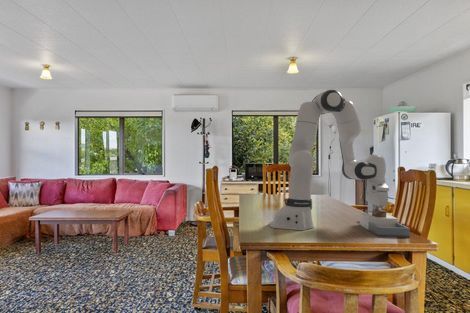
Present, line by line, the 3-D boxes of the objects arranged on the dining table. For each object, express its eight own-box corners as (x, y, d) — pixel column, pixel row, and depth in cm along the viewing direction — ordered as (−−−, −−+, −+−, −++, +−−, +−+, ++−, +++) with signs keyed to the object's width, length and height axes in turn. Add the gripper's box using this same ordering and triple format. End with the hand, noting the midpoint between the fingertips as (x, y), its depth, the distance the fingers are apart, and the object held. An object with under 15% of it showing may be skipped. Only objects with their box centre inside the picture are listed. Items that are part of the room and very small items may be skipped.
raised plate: (368, 230, 154) (368, 217, 154) (360, 224, 166) (360, 213, 166) (397, 230, 153) (397, 218, 153) (387, 225, 165) (387, 214, 165)
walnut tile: (375, 217, 156) (376, 211, 156) (372, 215, 161) (372, 209, 161) (386, 217, 156) (386, 211, 156) (382, 215, 161) (382, 209, 161)
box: (377, 236, 142) (378, 227, 142) (368, 230, 154) (368, 221, 154) (409, 237, 141) (409, 228, 141) (397, 230, 153) (397, 222, 153)
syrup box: (374, 221, 176) (374, 195, 176) (367, 219, 182) (367, 194, 181) (382, 220, 177) (383, 195, 177) (375, 218, 183) (376, 194, 183)
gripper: (362, 184, 174) (362, 209, 174) (377, 187, 153) (377, 216, 153) (374, 184, 174) (373, 209, 174) (390, 188, 153) (390, 216, 153)
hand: (375, 212), depth 163 cm, fingers closed
